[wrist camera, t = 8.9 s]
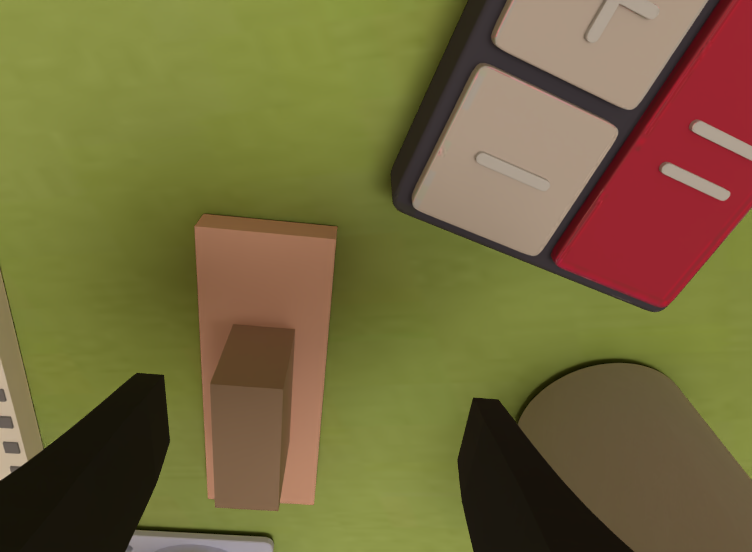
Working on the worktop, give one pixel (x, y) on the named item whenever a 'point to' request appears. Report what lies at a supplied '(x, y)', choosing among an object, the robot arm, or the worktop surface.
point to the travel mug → (642, 460)
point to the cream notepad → (14, 399)
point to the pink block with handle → (263, 356)
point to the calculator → (589, 138)
